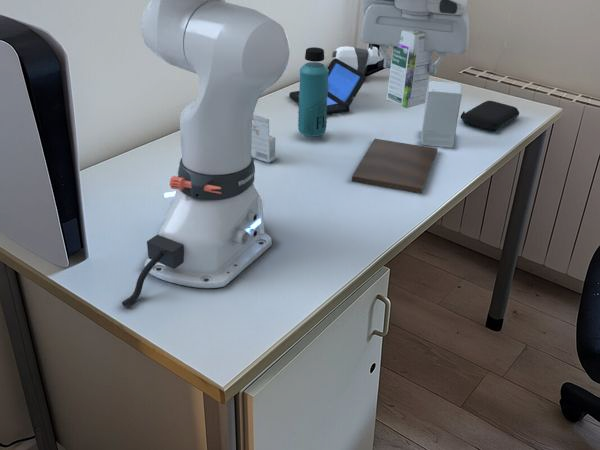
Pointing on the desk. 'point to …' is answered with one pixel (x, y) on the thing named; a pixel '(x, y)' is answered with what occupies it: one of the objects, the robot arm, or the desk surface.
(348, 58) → the giant panda
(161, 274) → the robot arm
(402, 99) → the syrup box
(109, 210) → the desk surface
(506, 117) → the carrying case
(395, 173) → the walnut board
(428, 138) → the white packaging box
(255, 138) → the ink cartridge box
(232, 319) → the desk surface
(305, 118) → the beverage bottle
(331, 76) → the game console
